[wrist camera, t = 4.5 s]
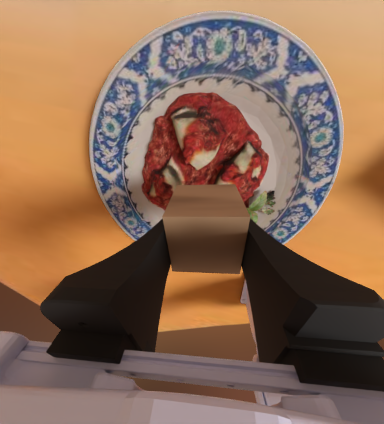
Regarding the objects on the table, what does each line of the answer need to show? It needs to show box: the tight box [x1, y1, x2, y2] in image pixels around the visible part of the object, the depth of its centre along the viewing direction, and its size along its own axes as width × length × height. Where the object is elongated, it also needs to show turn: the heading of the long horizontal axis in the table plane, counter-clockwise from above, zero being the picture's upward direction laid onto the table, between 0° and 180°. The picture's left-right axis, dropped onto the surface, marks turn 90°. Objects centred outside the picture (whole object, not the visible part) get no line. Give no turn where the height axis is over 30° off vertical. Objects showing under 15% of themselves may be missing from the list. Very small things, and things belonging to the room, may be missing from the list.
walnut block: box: [162, 184, 250, 274], centre depth 11 cm, size 4×4×4 cm
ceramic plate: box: [89, 11, 344, 244], centre depth 17 cm, size 26×26×3 cm
